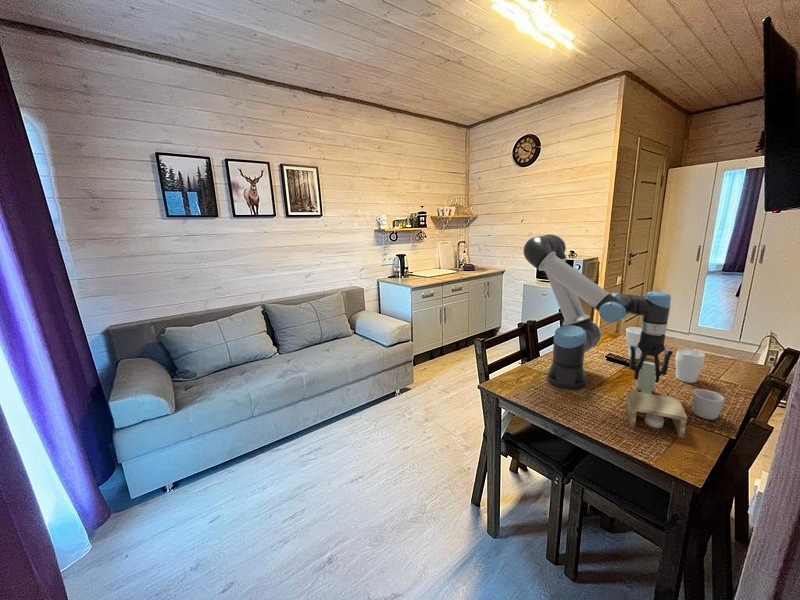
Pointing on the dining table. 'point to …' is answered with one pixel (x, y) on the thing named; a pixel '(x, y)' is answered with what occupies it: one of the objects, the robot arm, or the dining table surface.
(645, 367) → the sage green mallet
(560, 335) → the robot arm
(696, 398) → the cup
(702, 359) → the cup
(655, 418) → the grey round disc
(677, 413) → the beige arch
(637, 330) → the cup
